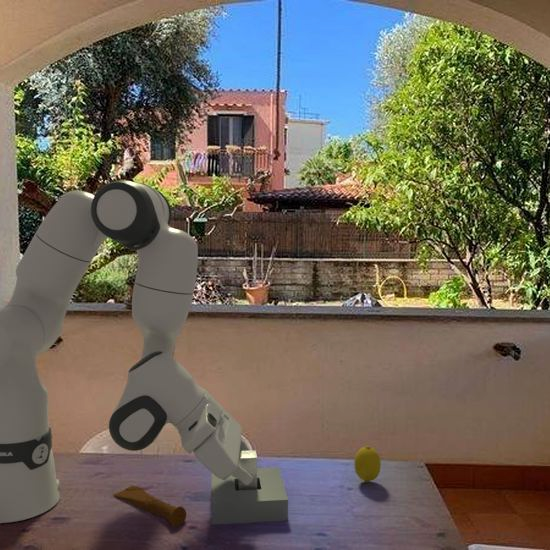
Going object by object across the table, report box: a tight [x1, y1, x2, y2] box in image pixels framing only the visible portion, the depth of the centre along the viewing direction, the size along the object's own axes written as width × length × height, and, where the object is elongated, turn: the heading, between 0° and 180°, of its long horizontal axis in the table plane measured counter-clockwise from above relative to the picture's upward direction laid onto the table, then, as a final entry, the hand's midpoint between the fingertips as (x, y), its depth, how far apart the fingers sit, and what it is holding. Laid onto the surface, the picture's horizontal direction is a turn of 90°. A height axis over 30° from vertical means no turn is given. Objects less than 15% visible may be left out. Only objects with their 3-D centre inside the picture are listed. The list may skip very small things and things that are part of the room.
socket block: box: [211, 466, 289, 526], centre depth 106 cm, size 14×14×4 cm
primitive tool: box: [112, 485, 187, 528], centre depth 105 cm, size 19×6×4 cm, turn 50°
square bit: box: [238, 449, 258, 490], centre depth 106 cm, size 4×4×10 cm
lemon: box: [354, 445, 382, 483], centre depth 115 cm, size 6×6×8 cm
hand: (251, 469), depth 104 cm, fingers open, 8 cm apart
